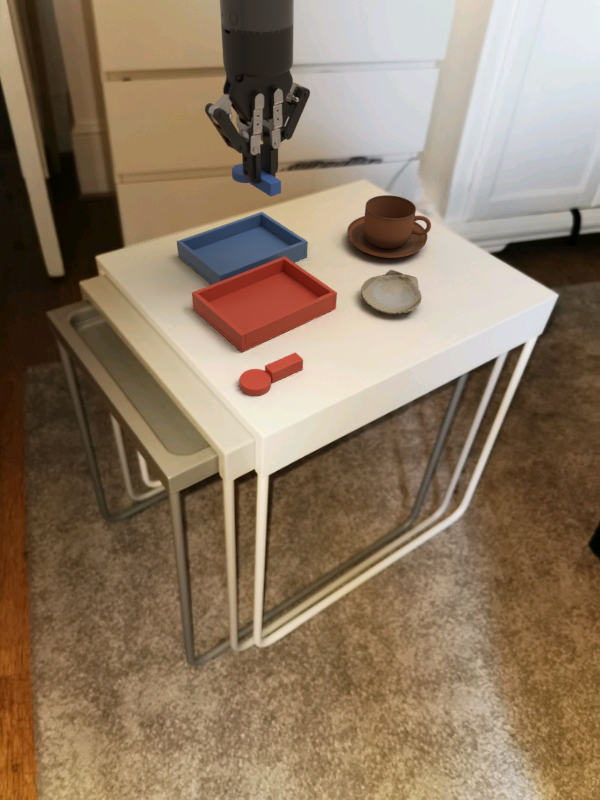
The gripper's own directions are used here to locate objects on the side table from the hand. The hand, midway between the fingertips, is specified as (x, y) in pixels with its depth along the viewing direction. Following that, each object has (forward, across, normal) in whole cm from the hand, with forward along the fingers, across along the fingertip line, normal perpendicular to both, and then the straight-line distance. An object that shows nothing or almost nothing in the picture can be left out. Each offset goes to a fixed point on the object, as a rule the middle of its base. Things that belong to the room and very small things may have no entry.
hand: (260, 178), depth 78 cm
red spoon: (+15, +11, +16) cm, 25 cm away
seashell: (+16, -12, +14) cm, 24 cm away
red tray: (+15, +3, +5) cm, 16 cm away
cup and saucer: (+16, -22, +2) cm, 27 cm away
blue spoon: (+1, 0, -1) cm, 1 cm away
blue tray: (+15, -2, -8) cm, 17 cm away
